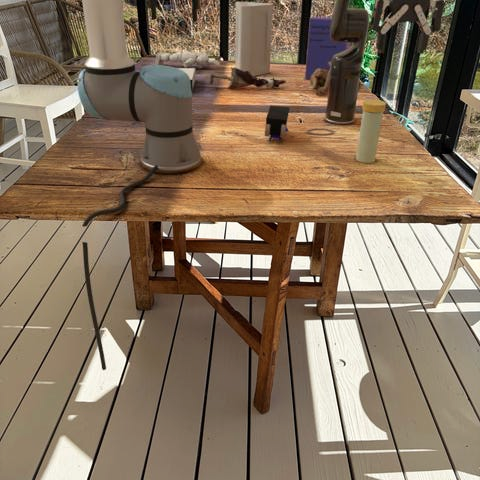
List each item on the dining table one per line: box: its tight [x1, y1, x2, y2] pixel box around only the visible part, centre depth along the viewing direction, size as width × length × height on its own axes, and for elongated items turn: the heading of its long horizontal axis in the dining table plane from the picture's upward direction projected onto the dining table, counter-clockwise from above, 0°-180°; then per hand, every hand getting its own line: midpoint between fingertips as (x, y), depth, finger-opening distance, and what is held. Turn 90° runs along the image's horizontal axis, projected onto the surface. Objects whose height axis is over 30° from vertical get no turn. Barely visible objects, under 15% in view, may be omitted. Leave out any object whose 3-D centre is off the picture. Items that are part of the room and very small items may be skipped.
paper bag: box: [234, 1, 274, 77], centre depth 210 cm, size 19×15×28 cm
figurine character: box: [264, 105, 290, 143], centre depth 140 cm, size 7×8×15 cm
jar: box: [355, 109, 384, 164], centre depth 123 cm, size 5×5×15 cm
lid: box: [361, 99, 387, 113], centre depth 120 cm, size 6×6×2 cm
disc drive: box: [176, 67, 196, 94], centre depth 191 cm, size 18×22×5 cm
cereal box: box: [304, 17, 352, 80], centre depth 202 cm, size 17×5×24 cm, turn 86°
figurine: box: [209, 66, 287, 89], centre depth 190 cm, size 24×8×30 cm
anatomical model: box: [309, 61, 331, 96], centre depth 186 cm, size 13×9×15 cm
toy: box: [155, 50, 221, 69], centre depth 223 cm, size 24×25×7 cm
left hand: (174, 20), depth 152 cm, fingers open, 13 cm apart
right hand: (400, 52), depth 104 cm, fingers open, 8 cm apart
